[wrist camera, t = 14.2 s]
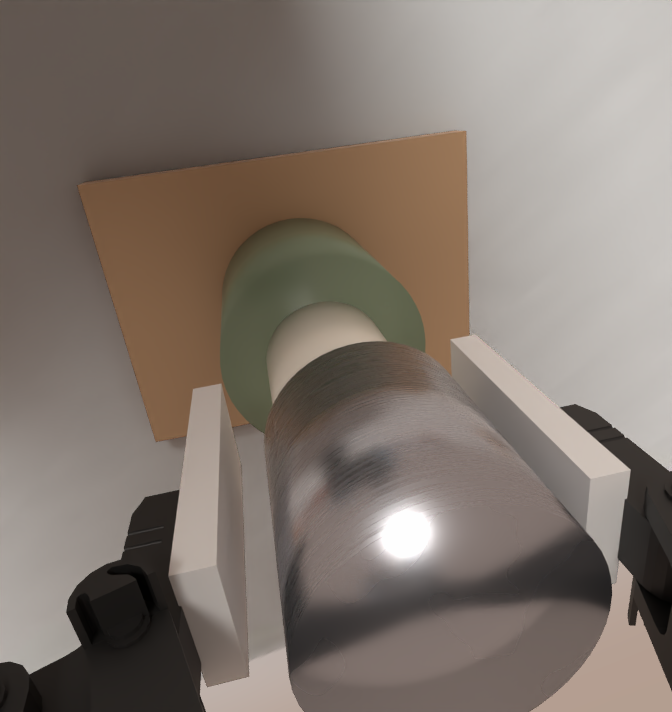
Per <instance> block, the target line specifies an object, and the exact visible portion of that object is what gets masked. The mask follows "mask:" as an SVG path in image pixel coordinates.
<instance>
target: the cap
mask: <svg viewBox="0 0 672 712" xmlns="http://www.w3.org/2000/svg"><path fill="white" fill-rule="evenodd" d="M264 448H265V459H266V468H267V477H268V487H269V496H270V505H271V514H272V524H273V533H274V542H275V551H276V560H277V570H278V579H279V588H280V597H281V606H282V616H283V625H284V634H285V643H286V652H287V662H288V670H289V678H290V682H291V686H292V690H293V693H294V695H295V697H296V699H297V701H298V704H299V706H300V707H301V708H302V710H303V711H304V712H529V711H531V710H533V709H534V708H536V707H537V706H539V705H540V704H542V703H543V702H544V701H545V700H547V699H548V698H549V697H550V696H552V695H553V694H554V693H556V692H557V691H558V690H559V689H560V688H561V687H562V686H563V685H564V684H565V683H566V682H567V681H569V679H570V678H571V677H572V676H573V675H574V674H575V673H576V672H577V671H578V670H579V668H580V667H581V666H582V665H583V663H584V662H585V661H586V659H587V658H588V657H589V655H590V654H591V652H592V651H593V649H594V647H595V645H596V644H597V642H598V640H599V639H600V636H601V634H602V632H603V629H604V627H605V625H606V622H607V618H608V615H609V611H610V606H611V605H610V604H611V598H612V583H611V576H610V571H609V567H608V564H607V562H606V560H605V557H604V555H603V553H602V551H601V550H600V548H599V547H598V546H597V544H596V543H595V542H594V540H593V539H592V538H591V537H590V535H589V534H588V533H587V532H586V531H585V530H584V528H583V527H582V526H581V525H580V524H579V523H578V522H577V520H576V519H575V518H574V517H573V516H572V515H571V513H570V512H569V511H568V510H567V509H566V508H565V507H564V505H563V504H562V503H561V502H560V501H559V500H558V498H557V497H556V496H555V495H554V494H553V493H552V492H551V490H550V489H549V488H548V487H547V486H546V485H545V483H544V482H543V481H542V480H541V479H540V478H539V477H538V475H537V474H536V473H535V472H534V471H533V470H532V468H531V467H530V466H529V465H528V464H527V463H526V462H525V460H524V459H523V458H522V457H521V456H520V455H519V453H518V452H517V451H516V450H515V449H514V448H513V446H512V445H511V444H510V443H509V442H508V441H507V440H506V438H505V437H504V436H503V435H502V434H501V433H500V431H499V430H498V429H497V428H496V427H495V426H494V425H493V423H492V422H491V421H490V420H489V419H488V418H487V416H486V415H485V414H484V413H483V412H482V411H481V410H480V408H479V407H478V406H477V405H476V404H475V403H474V401H473V400H472V399H471V398H470V397H469V396H468V395H467V393H466V392H465V391H464V390H463V389H462V388H461V386H460V385H459V384H458V383H457V382H456V381H455V380H454V378H453V377H452V376H451V375H450V374H449V373H448V371H447V370H446V369H445V368H444V367H443V366H442V365H441V364H440V363H439V362H438V361H436V360H435V359H433V358H432V357H431V356H429V355H428V354H426V353H424V352H422V351H420V350H418V349H416V348H413V347H410V346H407V345H404V344H399V343H394V342H385V341H370V342H360V343H355V344H350V345H346V346H343V347H340V348H337V349H334V350H332V351H329V352H327V353H325V354H323V355H321V356H319V357H318V358H316V359H314V360H313V361H311V362H309V363H308V364H307V365H306V366H304V367H303V368H302V369H300V370H299V371H298V372H297V373H296V374H295V375H294V376H293V377H292V378H291V379H290V380H289V381H288V382H287V383H286V385H285V386H284V387H283V389H282V390H281V391H280V393H279V394H278V396H277V398H276V400H275V401H274V403H273V405H272V408H271V410H270V413H269V415H268V418H267V423H266V427H265V435H264Z"/></svg>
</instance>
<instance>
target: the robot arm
mask: <svg viewBox="0 0 672 712" xmlns="http://www.w3.org/2000/svg"><path fill="white" fill-rule="evenodd" d="M450 346H451V372H452V377H453V378H454V380H455V381H456V382H457V383H458V384H459V385H460V386H461V388H462V389H463V390H464V391H465V392H466V393H467V395H468V396H469V397H470V398H471V399H472V400H473V401H474V403H475V404H476V405H477V406H478V407H479V408H480V410H481V411H482V412H483V413H484V414H485V415H486V416H487V418H488V419H489V420H490V421H491V422H492V423H493V425H494V426H495V427H496V428H497V429H498V430H499V431H500V433H501V434H502V435H503V436H504V437H505V438H506V440H507V441H508V442H509V443H510V444H511V445H512V446H513V448H514V449H515V450H516V451H517V452H518V453H519V455H520V456H521V457H522V458H523V459H524V460H525V462H526V463H527V464H528V465H529V466H530V467H531V468H532V470H533V471H534V472H535V473H536V474H537V475H538V477H539V478H540V479H541V480H542V481H543V482H544V483H545V485H546V486H547V487H548V488H549V489H550V490H551V492H552V493H553V494H554V495H555V496H556V497H557V498H558V500H559V501H560V502H561V503H562V504H563V505H564V507H565V508H566V509H567V510H568V511H569V512H570V513H571V515H572V516H573V517H574V518H575V519H576V520H577V522H578V523H579V524H580V525H581V526H582V527H583V528H584V530H585V531H586V532H587V533H588V534H589V535H590V537H591V538H592V539H593V540H594V542H595V543H596V544H597V546H598V547H599V548H600V550H601V551H602V553H603V555H604V557H605V560H606V562H607V564H608V567H609V571H610V576H611V583H612V584H614V583H616V580H617V572H618V565H619V560H620V561H621V562H622V564H623V565H624V566H625V567H626V568H627V569H628V570H629V571H630V573H631V574H632V575H633V581H632V589H631V595H630V603H629V609H628V622H629V625H635V624H636V617H637V611H638V610H639V612H640V615H641V617H642V619H643V622H644V625H645V627H646V629H647V632H648V634H649V637H650V639H651V641H652V644H653V646H654V649H655V651H656V654H657V656H658V659H659V661H660V663H661V666H662V668H663V671H664V673H665V675H666V678H667V681H668V683H669V685H670V688H671V690H672V471H670V472H669V471H668V470H667V469H666V468H664V467H663V466H662V465H661V464H659V463H658V462H657V461H656V460H654V459H653V458H652V457H651V456H649V455H648V454H647V453H646V452H644V451H643V450H642V449H641V448H639V447H638V446H637V445H636V444H634V443H633V442H632V441H631V440H629V439H628V438H625V437H624V435H623V434H622V433H621V432H619V431H618V430H617V429H616V428H612V425H611V424H609V423H608V422H607V421H606V420H604V419H603V418H602V417H601V416H599V415H598V414H597V413H595V412H593V411H590V410H588V409H585V408H583V407H581V406H578V405H576V404H574V405H569V406H564V407H560V408H559V407H558V406H557V405H556V404H555V403H554V402H552V401H551V400H550V399H549V398H548V397H547V396H546V395H544V394H543V393H542V392H541V391H540V390H539V389H538V388H536V387H535V386H534V385H533V384H532V383H531V382H530V381H528V380H527V379H526V378H525V377H524V376H523V375H522V374H520V373H519V372H518V371H517V370H516V369H515V368H514V367H512V366H511V365H510V364H509V363H508V362H507V361H505V360H504V359H503V358H502V357H501V356H500V355H499V354H497V353H496V352H495V351H494V350H493V349H492V348H491V347H489V346H488V345H487V344H486V343H485V342H484V341H483V340H481V339H480V338H479V337H478V336H477V335H476V334H475V335H470V336H465V337H460V338H455V339H450ZM66 613H67V615H68V617H69V619H70V621H71V623H72V626H73V628H74V630H75V632H76V634H77V636H78V638H79V640H80V642H81V644H82V645H81V646H80V647H79V648H78V649H76V650H75V651H73V652H71V653H70V654H68V655H66V656H65V657H63V658H61V659H59V660H57V661H55V662H53V663H51V664H49V665H47V666H45V667H43V668H41V669H39V670H37V671H35V672H33V673H31V674H30V675H29V674H28V672H27V671H26V669H25V668H24V667H23V665H20V664H16V663H13V662H5V663H0V712H206V711H205V708H204V705H203V702H202V700H201V697H200V680H201V671H202V674H203V677H204V680H205V683H206V686H207V687H209V686H214V685H218V684H221V683H225V682H229V681H233V680H237V679H241V678H245V677H249V659H248V632H247V605H246V577H245V550H244V523H243V495H242V468H241V462H240V458H239V454H238V450H237V446H236V442H235V437H234V433H233V429H232V425H231V421H230V417H229V413H228V409H227V405H226V400H225V396H224V392H223V388H222V384H216V385H211V386H206V387H200V388H195V389H193V393H192V401H191V408H190V416H189V423H188V431H187V438H186V446H185V454H184V461H183V469H182V476H181V484H180V490H177V491H172V492H167V493H163V494H158V495H153V496H149V497H145V498H144V500H143V501H142V502H141V504H140V505H139V506H138V508H137V509H136V510H135V512H134V513H133V514H132V517H131V521H130V525H129V530H128V536H127V538H126V542H125V546H124V552H123V554H122V558H121V560H118V561H115V562H112V563H108V564H106V565H104V566H102V567H100V568H99V569H97V570H95V571H94V572H92V573H90V574H89V575H88V576H87V577H86V578H85V579H84V580H83V581H82V582H80V583H79V584H78V585H77V587H76V588H75V590H74V591H73V593H72V595H71V596H70V598H69V599H68V605H67V611H66Z"/></svg>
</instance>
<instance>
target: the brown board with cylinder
mask: <svg viewBox="0 0 672 712" xmlns="http://www.w3.org/2000/svg"><path fill="white" fill-rule="evenodd" d="M77 187H78V190H79V194H80V197H81V200H82V203H83V207H84V210H85V213H86V216H87V220H88V223H89V226H90V229H91V233H92V236H93V239H94V242H95V246H96V249H97V252H98V255H99V259H100V262H101V265H102V268H103V272H104V275H105V278H106V281H107V285H108V288H109V291H110V294H111V298H112V301H113V304H114V307H115V311H116V314H117V317H118V320H119V324H120V327H121V330H122V333H123V337H124V340H125V343H126V346H127V350H128V353H129V356H130V359H131V363H132V366H133V369H134V372H135V376H136V379H137V382H138V385H139V389H140V392H141V395H142V398H143V402H144V405H145V408H146V411H147V415H148V418H149V421H150V424H151V428H152V431H153V434H154V437H155V441H156V442H158V441H163V440H169V439H174V438H179V437H184V436H187V431H188V423H189V416H190V408H191V401H192V393H193V389H195V388H200V387H206V386H211V385H216V384H222V388H223V392H224V396H225V400H226V405H227V409H228V413H229V417H230V421H231V425H232V427H235V426H240V425H245V424H252V425H253V426H254V427H255V428H257V429H258V430H260V431H261V432H263V433H264V434H265V427H266V423H267V418H268V415H269V413H270V410H271V408H272V405H273V403H274V401H275V400H276V398H277V396H278V394H279V393H280V391H281V390H282V389H283V387H284V386H285V385H286V383H287V382H288V381H289V380H290V379H291V378H292V377H293V376H294V375H295V374H296V373H297V372H298V371H299V370H300V369H302V368H303V367H304V366H306V365H307V364H308V363H309V362H311V361H313V360H314V359H316V358H318V357H319V356H321V355H323V354H325V353H327V352H329V351H332V350H334V349H337V348H340V347H343V346H346V345H350V344H355V343H360V342H370V341H385V342H394V343H399V344H404V345H407V346H410V347H413V348H416V349H418V350H420V351H422V352H424V353H426V354H428V355H429V356H431V357H432V358H433V359H435V360H436V361H438V362H439V363H440V364H441V365H442V366H443V367H444V368H445V369H446V370H447V371H448V373H449V374H450V375H451V376H452V372H451V346H450V339H455V338H460V337H465V336H469V280H468V215H467V150H466V131H456V130H455V131H448V132H441V133H434V134H427V135H419V136H412V137H405V138H398V139H391V140H384V141H376V142H369V143H362V144H355V145H348V146H341V147H333V148H326V149H319V150H312V151H305V152H298V153H290V154H283V155H276V156H269V157H262V158H254V159H247V160H240V161H233V162H226V163H219V164H211V165H204V166H197V167H190V168H183V169H176V170H168V171H161V172H154V173H147V174H140V175H133V176H125V177H118V178H111V179H104V180H97V181H89V182H84V183H81V184H79V185H77Z"/></svg>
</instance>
